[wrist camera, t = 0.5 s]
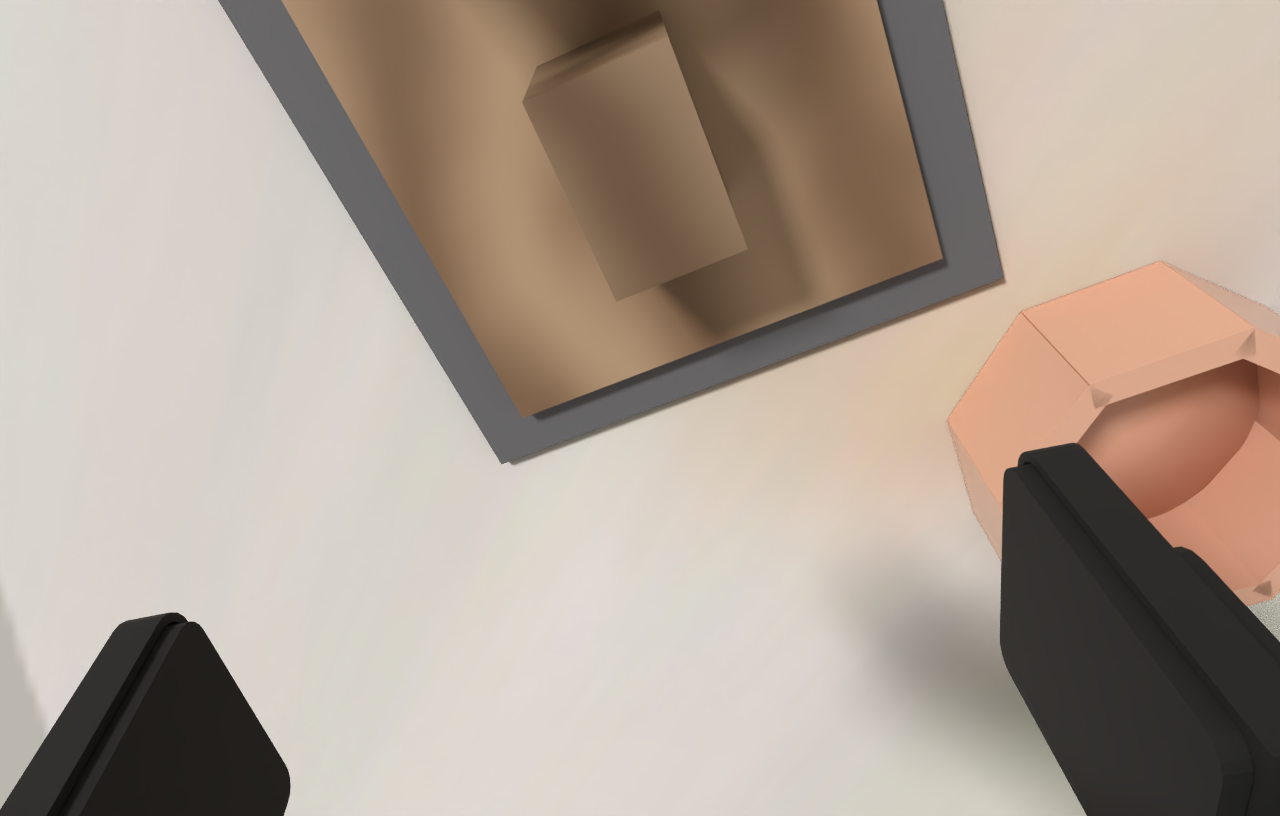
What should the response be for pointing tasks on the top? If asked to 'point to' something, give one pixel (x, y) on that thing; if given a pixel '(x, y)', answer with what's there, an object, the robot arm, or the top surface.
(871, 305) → the mat
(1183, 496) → the open box
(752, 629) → the top surface
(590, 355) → the lid
